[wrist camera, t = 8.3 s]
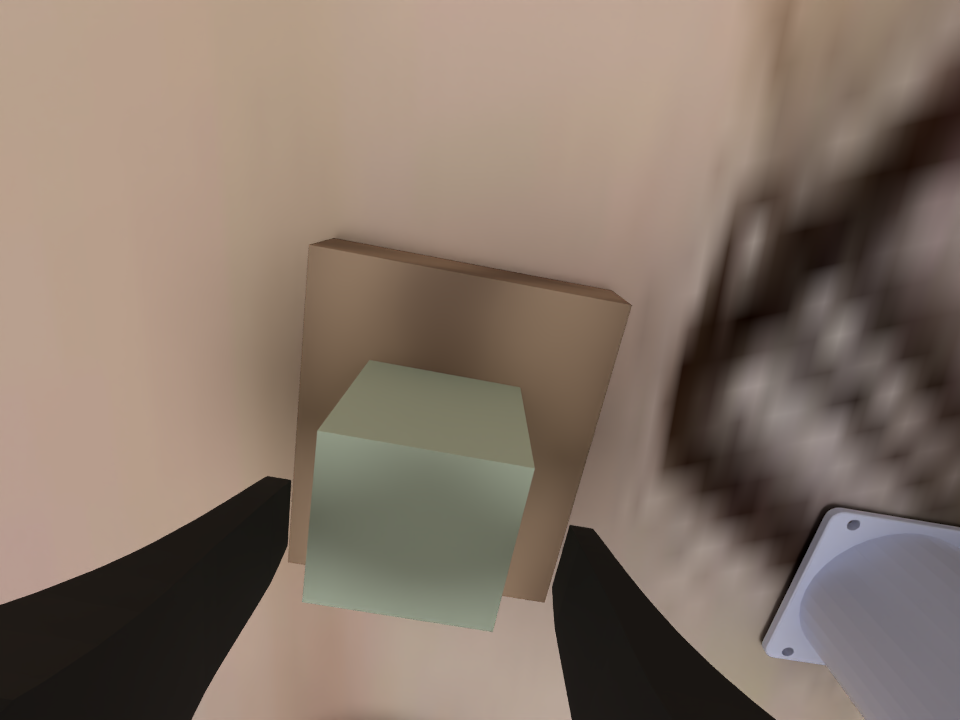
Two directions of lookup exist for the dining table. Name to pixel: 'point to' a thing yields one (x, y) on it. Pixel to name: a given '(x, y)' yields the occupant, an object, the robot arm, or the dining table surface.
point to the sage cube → (418, 496)
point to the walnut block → (463, 367)
